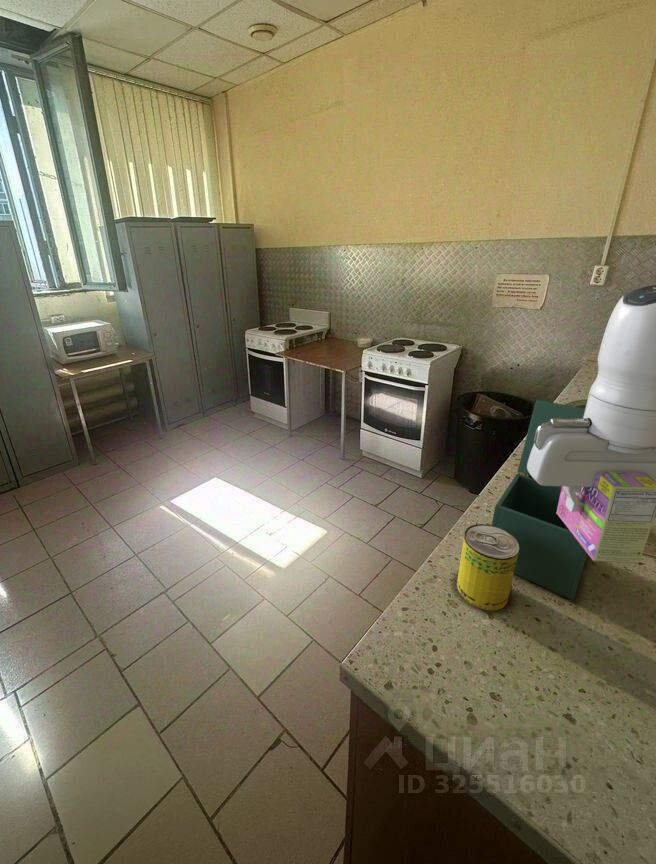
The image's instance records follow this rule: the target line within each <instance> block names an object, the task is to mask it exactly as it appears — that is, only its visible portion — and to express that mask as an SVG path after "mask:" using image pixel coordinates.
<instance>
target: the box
mask: <svg viewBox="0 0 656 864" xmlns="http://www.w3.org/2000/svg"><path fill="white" fill-rule="evenodd" d="M561 487H562V486H561ZM575 493H576V495H579V497H580V498H581V499H582V500H583V501H584V502H585V506H584V508H583V509H584V510H583V512H570V511H569V509H568V508H567V507H566V499H567V495H566V493H565V491H564V489H563V487H562V489H561V493H560V498H559V503H558V508H557V512H556V513H557V515H558V516H559V517H560V518H561V520H562V521H563V522H564V524H565V525H566V526H567V527H568V529H569V530H570V531H571V533H572V534H573V535H574V537H575V538H576V539H577V540H578V542H579V543H580V544H581V546H582V547H583V548H584V550H585V551H586V552H587V556H588V557H590V559H591V560H592V561H593V562H601V563H619V564H640V563H641V560H642V556H643V553H644V551H645V547H646V545H647V542H648V539H649V536H650V532H651V530H652V527H653V524H654V520H655V518H656V481H655V480H653V479H652V478H651V477H649V476H648V475H647V474H646V473H639V472H599V473H597V477H596V481H595V485H594V487H581V490H580V492H575Z"/></svg>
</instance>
